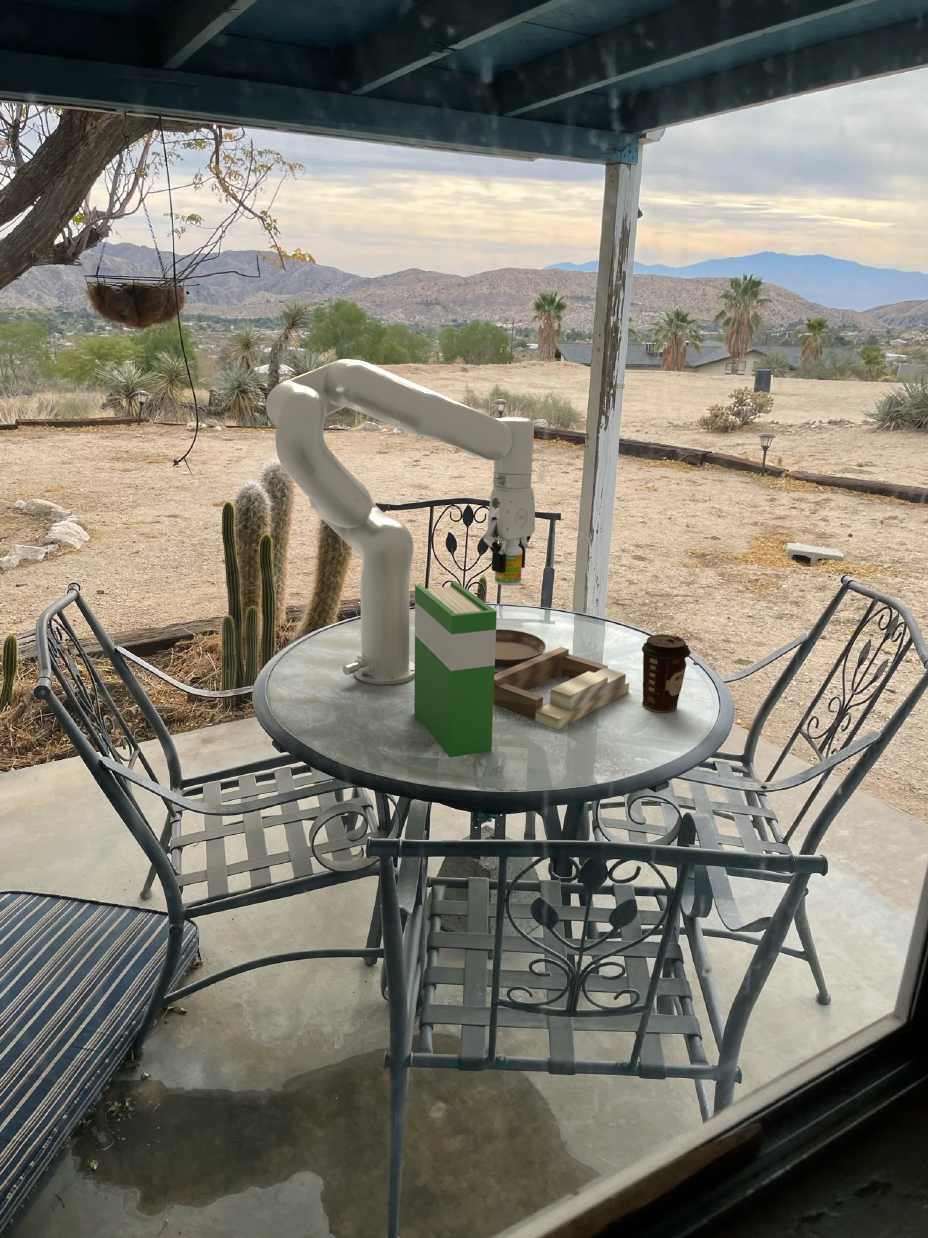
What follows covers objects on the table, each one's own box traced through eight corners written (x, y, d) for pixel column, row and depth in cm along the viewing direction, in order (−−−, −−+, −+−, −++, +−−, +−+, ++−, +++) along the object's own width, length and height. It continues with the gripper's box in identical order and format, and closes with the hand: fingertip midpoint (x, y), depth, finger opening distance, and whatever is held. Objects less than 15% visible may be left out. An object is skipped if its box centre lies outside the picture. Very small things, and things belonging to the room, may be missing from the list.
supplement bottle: (502, 587, 172) (504, 540, 169) (490, 580, 176) (491, 534, 173) (525, 584, 174) (528, 538, 171) (512, 578, 179) (514, 532, 176)
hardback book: (414, 713, 152) (415, 584, 144) (452, 708, 155) (455, 581, 147) (449, 757, 136) (452, 615, 129) (491, 750, 139) (496, 611, 132)
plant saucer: (548, 673, 173) (549, 659, 172) (461, 670, 173) (461, 656, 172) (542, 643, 190) (542, 630, 189) (462, 641, 190) (463, 628, 189)
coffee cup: (686, 701, 160) (693, 636, 156) (682, 718, 153) (689, 651, 148) (639, 694, 163) (645, 630, 159) (633, 711, 155) (639, 644, 151)
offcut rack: (558, 729, 147) (560, 702, 145) (486, 702, 157) (487, 676, 156) (628, 692, 163) (630, 667, 162) (559, 669, 174) (560, 645, 172)
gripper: (498, 488, 160) (494, 580, 166) (553, 479, 172) (548, 565, 178) (469, 482, 165) (466, 572, 171) (524, 474, 177) (520, 559, 183)
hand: (508, 568), depth 174 cm, fingers closed on supplement bottle, 5 cm apart
